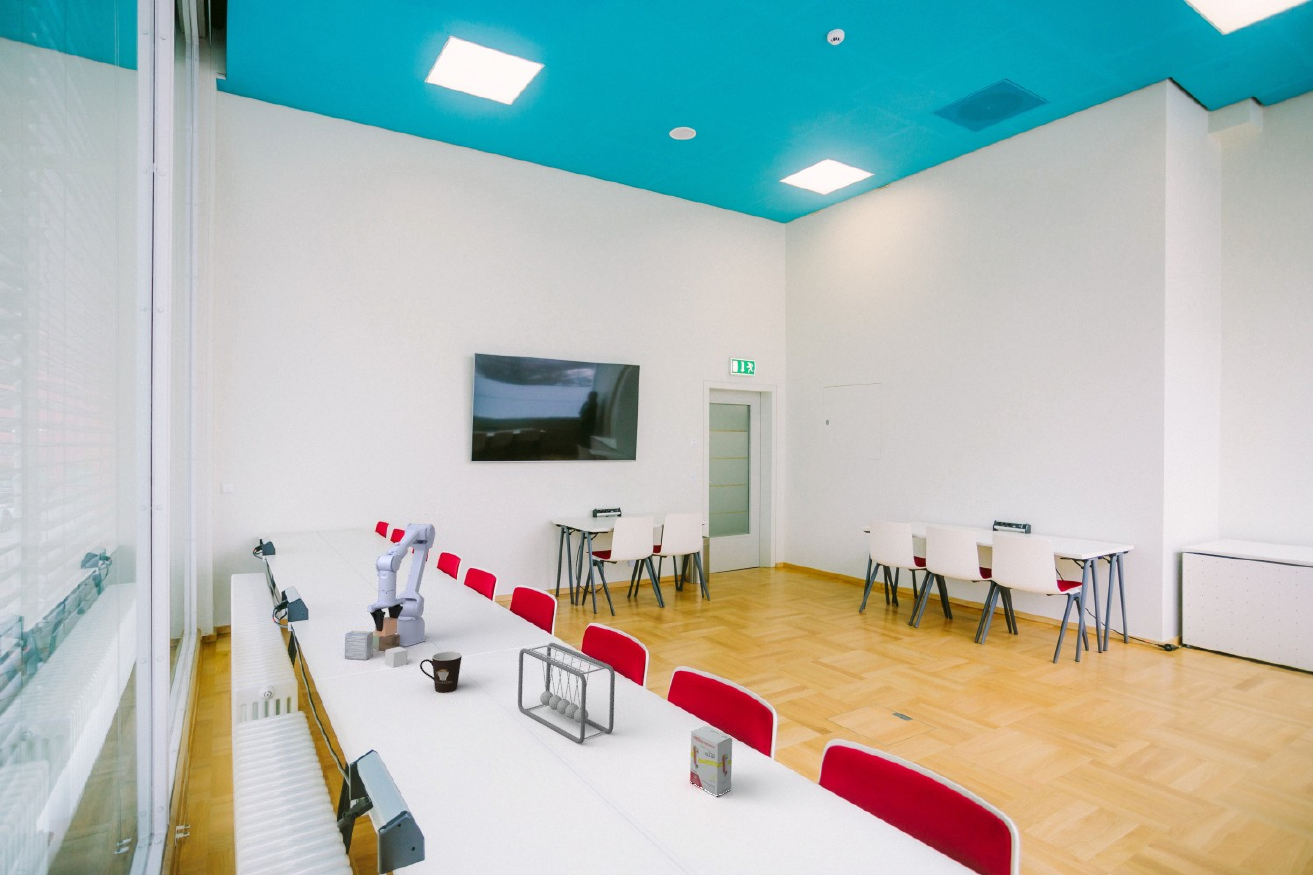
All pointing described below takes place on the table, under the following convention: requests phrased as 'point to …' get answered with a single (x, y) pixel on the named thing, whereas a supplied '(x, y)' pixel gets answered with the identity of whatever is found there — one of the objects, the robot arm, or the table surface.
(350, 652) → the medicine box
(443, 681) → the coffee mug
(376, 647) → the sage block
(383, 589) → the robot arm
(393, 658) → the pale grey block
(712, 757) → the ink box
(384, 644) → the walnut block
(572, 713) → the newton's cradle
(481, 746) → the table surface
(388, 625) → the terracotta block
